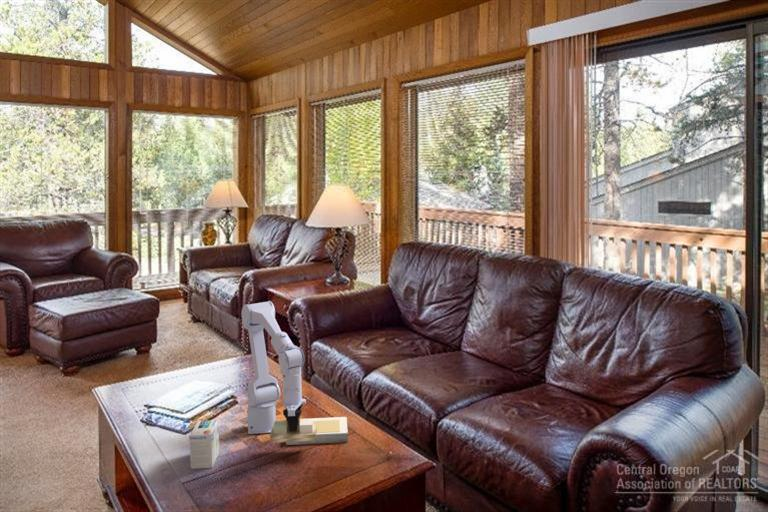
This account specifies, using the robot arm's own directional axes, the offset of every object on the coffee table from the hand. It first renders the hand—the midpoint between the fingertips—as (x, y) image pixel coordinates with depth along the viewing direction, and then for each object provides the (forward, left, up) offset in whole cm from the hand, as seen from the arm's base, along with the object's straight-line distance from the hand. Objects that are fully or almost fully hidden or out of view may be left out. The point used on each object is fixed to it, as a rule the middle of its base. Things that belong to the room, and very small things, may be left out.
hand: (293, 428), depth 181 cm
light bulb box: (-27, -2, -8) cm, 28 cm away
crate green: (-4, 0, -1) cm, 4 cm away
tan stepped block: (0, 0, -3) cm, 3 cm away
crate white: (+4, 0, -1) cm, 4 cm away
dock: (+7, +12, -8) cm, 16 cm away
